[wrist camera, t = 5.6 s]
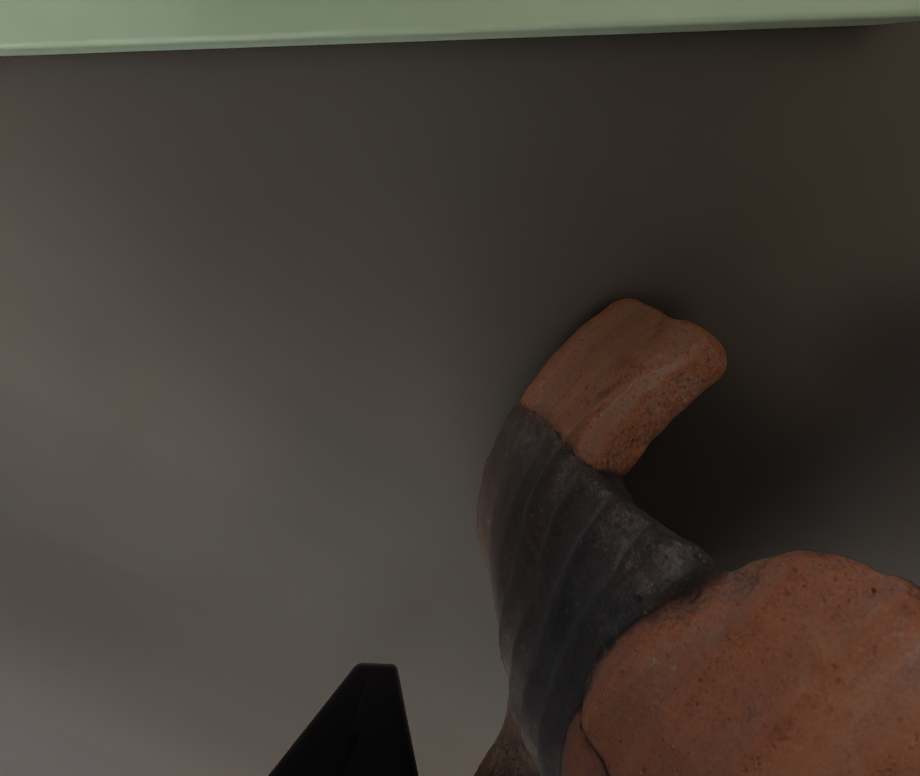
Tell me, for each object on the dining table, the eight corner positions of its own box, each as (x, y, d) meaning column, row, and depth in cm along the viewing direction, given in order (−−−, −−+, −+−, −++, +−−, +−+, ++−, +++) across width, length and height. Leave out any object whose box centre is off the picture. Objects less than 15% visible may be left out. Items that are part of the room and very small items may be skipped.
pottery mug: (725, 64, 9) (2454, 376, 2) (910, 380, 15) (1542, 710, 8) (185, 726, 10) (343, 1917, 4) (546, 769, 16) (837, 1283, 10)
